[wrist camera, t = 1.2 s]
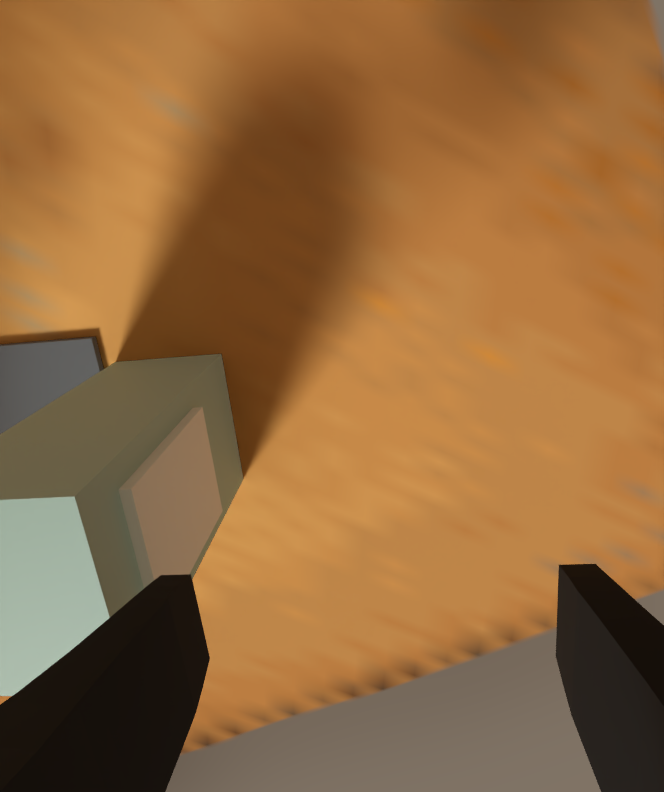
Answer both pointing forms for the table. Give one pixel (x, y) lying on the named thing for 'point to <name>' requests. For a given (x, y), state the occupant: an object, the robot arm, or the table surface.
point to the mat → (42, 374)
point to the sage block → (108, 501)
